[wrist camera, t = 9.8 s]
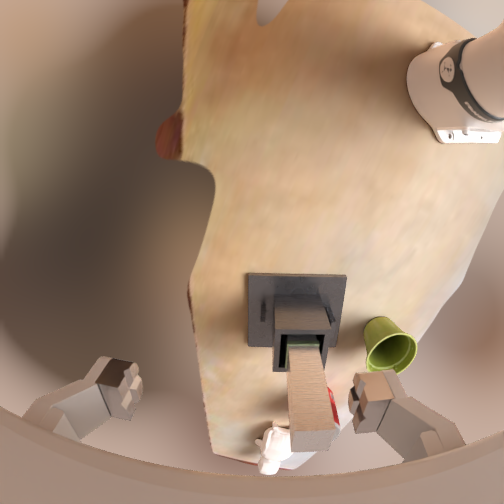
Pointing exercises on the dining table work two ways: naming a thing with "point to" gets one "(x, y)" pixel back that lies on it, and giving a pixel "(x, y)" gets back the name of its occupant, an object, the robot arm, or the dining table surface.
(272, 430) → the white molar tooth
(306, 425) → the column
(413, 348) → the plant pot
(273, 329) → the stand
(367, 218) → the dining table surface
